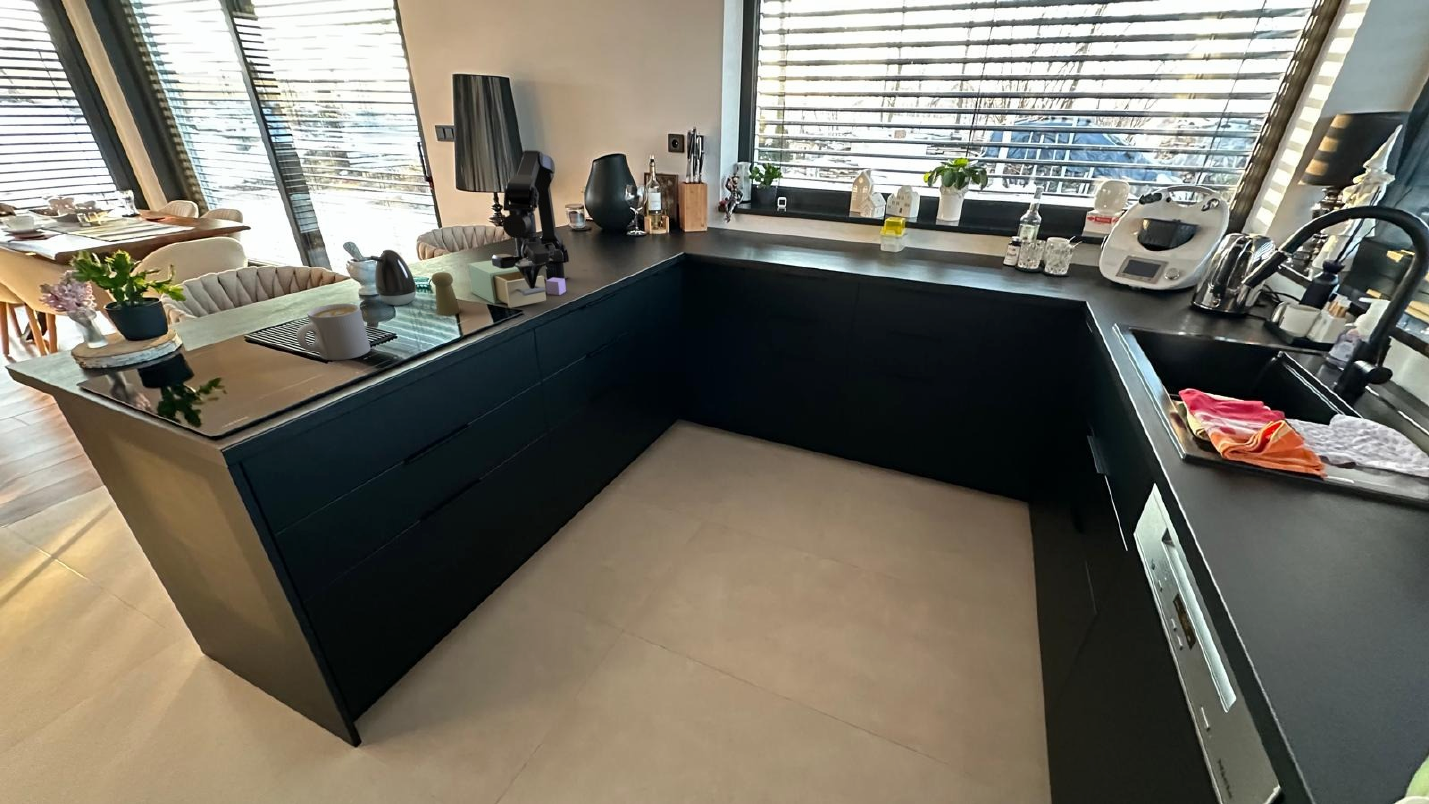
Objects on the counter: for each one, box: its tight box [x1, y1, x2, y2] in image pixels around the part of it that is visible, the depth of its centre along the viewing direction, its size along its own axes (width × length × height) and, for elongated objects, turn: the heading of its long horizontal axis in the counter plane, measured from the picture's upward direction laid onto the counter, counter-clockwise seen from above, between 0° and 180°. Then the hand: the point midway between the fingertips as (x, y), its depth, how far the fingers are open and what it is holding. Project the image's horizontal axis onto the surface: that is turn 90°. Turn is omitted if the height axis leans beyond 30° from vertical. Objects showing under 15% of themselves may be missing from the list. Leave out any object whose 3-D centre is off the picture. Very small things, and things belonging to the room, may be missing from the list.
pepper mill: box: [431, 271, 461, 316], centre depth 153 cm, size 6×6×11 cm
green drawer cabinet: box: [467, 259, 519, 305], centre depth 170 cm, size 15×13×9 cm
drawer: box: [493, 271, 547, 309], centre depth 163 cm, size 18×11×7 cm, turn 45°
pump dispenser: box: [369, 249, 418, 306], centre depth 157 cm, size 10×10×15 cm
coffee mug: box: [296, 303, 372, 361], centre depth 124 cm, size 13×10×10 cm
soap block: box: [545, 278, 567, 296], centre depth 175 cm, size 4×4×4 cm
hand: (532, 288), depth 157 cm, fingers closed, pressing on drawer
